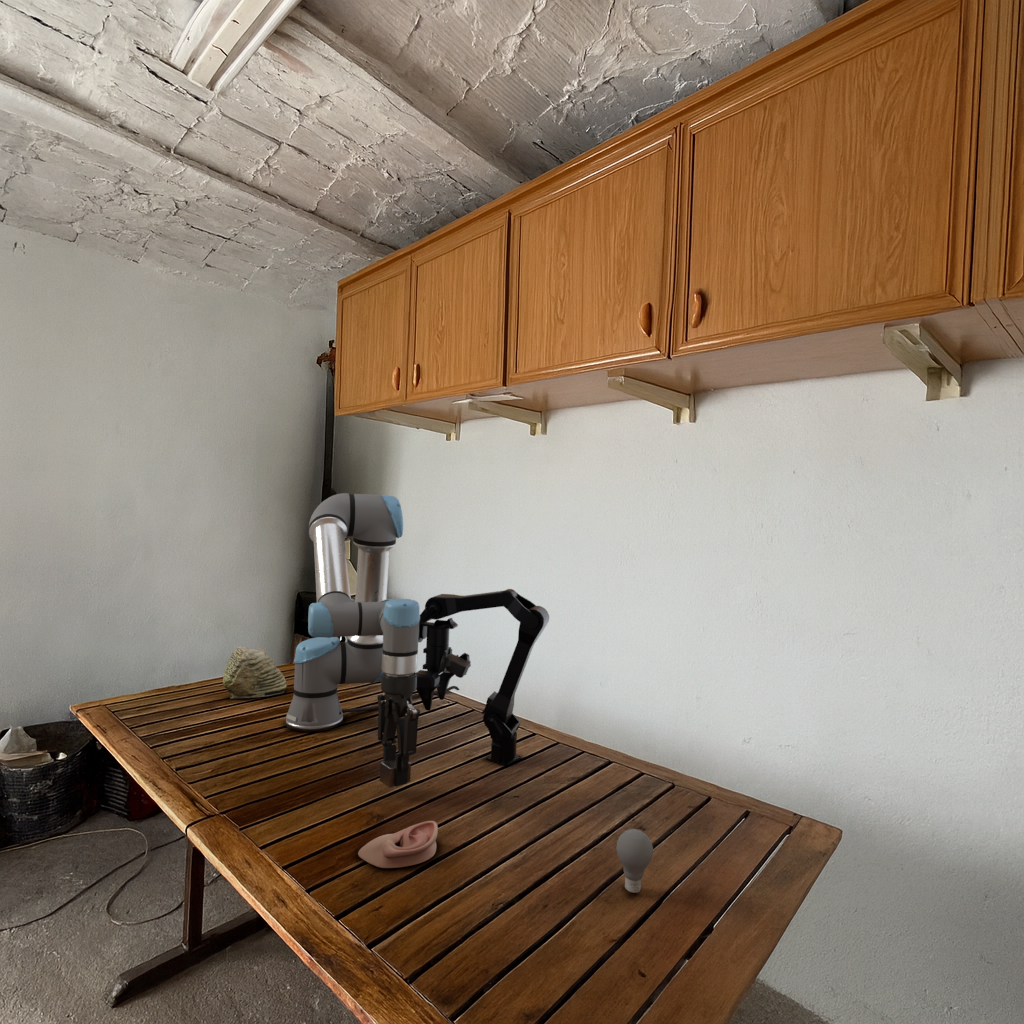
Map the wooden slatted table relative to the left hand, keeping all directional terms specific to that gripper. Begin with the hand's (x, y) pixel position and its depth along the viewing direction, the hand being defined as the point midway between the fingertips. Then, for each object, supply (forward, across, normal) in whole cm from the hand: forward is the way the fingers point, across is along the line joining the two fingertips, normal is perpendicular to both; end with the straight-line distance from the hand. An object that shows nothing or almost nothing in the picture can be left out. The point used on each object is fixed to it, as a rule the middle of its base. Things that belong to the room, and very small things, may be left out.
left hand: (394, 779), depth 136 cm
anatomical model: (+3, -20, +11) cm, 23 cm away
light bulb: (+3, -53, -13) cm, 55 cm away
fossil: (+4, +83, 0) cm, 83 cm away
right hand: (-8, +16, -21) cm, 28 cm away
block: (0, 0, 0) cm, 0 cm away
